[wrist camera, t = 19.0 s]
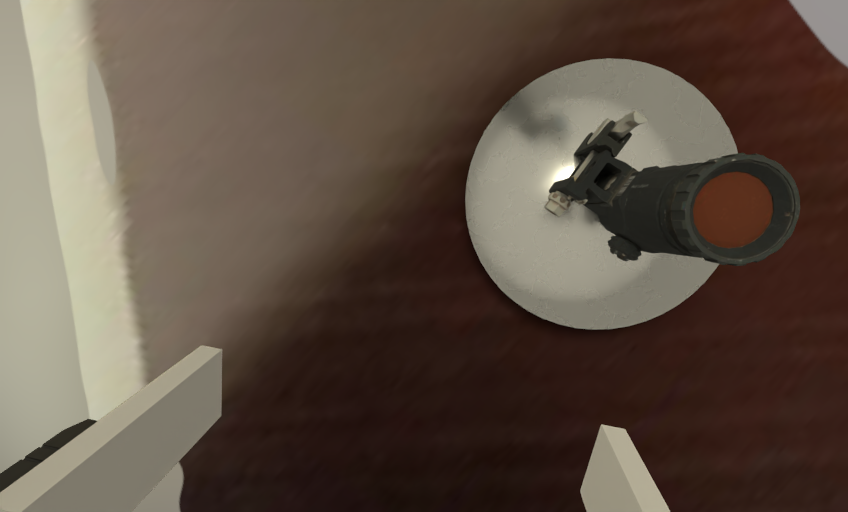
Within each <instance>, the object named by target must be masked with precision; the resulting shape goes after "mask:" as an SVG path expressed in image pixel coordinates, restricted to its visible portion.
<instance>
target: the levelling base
mask: <svg viewBox="0 0 848 512" xmlns="http://www.w3.org/2000/svg"><path fill="white" fill-rule="evenodd" d="M635 110H636V111H637V112H639V113H640V114H642V115H643V116H645V117H646V118H648V120H647V122H646V123H643V124H640V125H638V126H637V127H635V128H634V129H632V130H631V131H630V133H632V136H631V137H630V139H629V140H628V142H627V143H626V144H625V146H624V147H623V148H622V150H621V151H620V152H619V154H618V155H617V156H616V157H614V158H616V159H618V160H621V161H623V162H625V163H627V164H628V165H630V166H631V167H632V168H634V169H636V170H637V171H642V170H643V168H647V167H653V166H658V167H660V168H661V167H667V166H673V165H676V166H680V165H687V164H694V163H703V162H706V161H708V160H711V159H716V158H721V157H722V156H726V155H731V154H737V153H738V152H737V148H736V145H735V142H734V140H733V138H732V135H731V133H730V130H729V128H728V127H727V125H726V123H725V122H724V120H723V118H722V117H721V115H720V113H719V112H718V111H717V110H716V108H715V107H714V106H713V105H712V104H711V102H710V101H709V100H708V99H707V98H706V97H705V96H704V95H703V94H702V93H701V92H699V91H698V90H697V89H696V88H695V87H694V86H692V85H691V84H689V83H688V82H686V81H685V80H684V79H682V78H681V77H679V76H677V75H675V74H673V73H671V72H669V71H667V70H665V69H663V68H660V67H657V66H654V65H651V64H648V63H644V62H639V61H633V60H628V59H609V58H608V59H596V60H587V61H583V62H578V63H574V64H570V65H567V66H564V67H562V68H559V69H556V70H553V71H551V72H549V73H547V74H545V75H544V76H542V77H540V78H538V79H536V80H534V81H533V82H531V83H530V84H529V85H527V86H526V87H524V88H523V89H521V90H520V91H519V92H518V93H517V94H516V95H514V96H513V97H512V98H511V99H510V100H509V101H508V102H507V103H506V104H505V105H504V106H503V107H502V108H501V109H500V111H499V112H498V113H497V114H496V115H495V116H494V118H493V119H492V121H491V122H490V124H489V125H488V127H487V128H486V130H485V131H484V133H483V135H482V137H481V139H480V141H479V143H478V145H477V147H476V150H475V153H474V156H473V159H472V161H471V164H470V168H469V173H468V177H467V182H466V194H465V208H466V219H467V225H468V230H469V234H470V237H471V240H472V243H473V246H474V249H475V251H476V253H477V255H478V257H479V259H480V261H481V263H482V265H483V266H484V268H485V270H486V271H487V273H488V274H489V276H490V277H491V279H492V280H493V281H494V282H495V283H496V284H497V286H498V287H499V288H500V289H501V290H502V291H503V292H504V293H505V294H506V295H507V296H508V297H510V298H511V299H512V300H513V301H514V302H516V303H517V304H518V305H520V306H521V307H523V308H524V309H526V310H527V311H529V312H531V313H533V314H535V315H537V316H539V317H541V318H543V319H545V320H548V321H551V322H554V323H557V324H560V325H564V326H569V327H573V328H581V329H591V330H598V329H614V328H621V327H627V326H631V325H634V324H638V323H641V322H645V321H647V320H650V319H652V318H655V317H657V316H659V315H662V314H663V313H665V312H667V311H669V310H670V309H672V308H674V307H676V306H677V305H679V304H680V303H681V302H683V301H684V300H685V299H687V298H688V297H689V296H691V295H692V294H693V293H694V292H695V291H696V290H697V289H698V288H699V287H700V286H701V285H702V284H703V283H705V281H706V280H707V279H708V278H709V277H710V275H711V274H712V273H713V272H714V270H715V269H716V268H717V266H718V265H719V264H717V263H713V262H709V261H705V260H704V258H698V257H690V256H683V255H675V254H667V253H648V252H643V251H641V254H642V255H641V256H639V257H638V260H636V261H632V260H629V261H623V260H621V259H619V258H618V257H617V255H616V254H612V253H611V252H610V247H609V245H608V240H611V237H612V236H616V235H614V234H613V233H611V232H609V231H608V230H606V229H605V228H604V227H603V225H602V224H601V222H600V220H599V218H598V215H597V214H595V213H594V212H593V211H591V210H590V209H588V208H587V207H585V206H584V205H583V204H582V205H578V204H577V203H575V201H570V203H571V206H570V208H569V209H568V210H564V212H563V213H562V214H561V216H560V217H557V216H555V215H553V214H552V213H550V212H549V211H547V210H546V209H545V208H544V206H545V204H546V203H547V202H548V200H549V199H548V196H549V195H550V193H549V189H550V188H551V186H552V185H553V184H554V182H556V181H560V180H563V179H566V178H569V177H570V175H571V174H572V173H573V171H574V170H575V168H576V167H577V166H578V164H579V163H580V162H581V161H582V160H583V159H585V157H583V156H582V155H579V156H575V155H574V153H575V152H576V150H577V149H578V148H579V146H580V145H581V143H582V142H583V141H584V139H585V138H586V137H587V135H588V134H589V133H591V132H592V133H594V132H595V131H596V129H597V128H598V127H599V126H600V125H601V123H602V122H603V121H604V120H605V119H607V118H608V119H610V120H611V121H612V120H613V121H614V122H616V121H618V120H620V119H622V118H623V117H624V116H625V115H626V114H627V115H628V114H629V113H631V112H633V111H635Z"/></svg>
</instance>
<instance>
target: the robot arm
mask: <svg viewBox="0 0 848 512" xmlns="http://www.w3.org/2000/svg"><path fill="white" fill-rule="evenodd" d="M221 396H222V349H218V348H213V347H208V346H203V345H201V346H200V347H198V348H197V349H196V350H194V351H193V352H192V353H190V354H189V355H188V356H186V357H185V358H183V359H182V360H181V361H179V362H178V363H177V364H175V365H174V366H173V367H171V368H170V369H168V370H167V371H166V372H164V373H163V374H162V375H160V376H159V377H157V378H156V379H155V380H153V381H152V382H151V383H149V384H148V385H147V386H145V387H144V388H142V389H141V390H140V391H138V392H137V393H136V394H134V395H133V396H132V397H130V398H129V399H127V400H126V401H125V402H123V403H122V404H121V405H119V406H118V407H116V408H115V409H114V410H112V411H111V412H110V413H108V414H107V415H106V416H104V417H103V418H101V419H100V420H99V421H95V420H90V419H87V420H85V421H83V422H81V423H79V424H76V425H74V426H72V427H69V428H67V429H65V430H63V431H61V432H60V433H59V434H57V435H56V436H54V437H53V438H51V439H50V440H48V441H47V442H46V443H44V444H43V446H42V447H41V448H40V447H39V448H37V449H35V450H34V451H33V452H31V453H30V454H28V455H27V456H26V457H25V459H24V460H20V461H18V462H17V463H15V464H14V465H12V466H11V467H9V468H8V469H7V470H5V471H4V472H2V473H1V474H0V512H132V511H133V510H134V509H135V508H136V507H137V505H138V504H139V503H140V502H141V501H142V500H143V499H144V498H145V497H146V496H147V495H148V494H149V493H150V492H151V490H152V489H153V488H154V487H155V486H156V485H157V484H158V483H159V482H160V481H161V480H162V479H163V477H165V475H166V474H167V473H168V472H169V471H170V470H171V469H172V468H173V467H174V466H175V465H176V464H177V463H178V462H179V460H180V459H181V458H182V457H183V456H184V455H185V454H186V453H187V452H188V451H189V450H190V449H191V448H192V447H193V445H194V444H195V443H196V442H197V441H198V440H199V439H200V438H201V437H202V436H203V435H204V434H205V433H206V432H207V430H208V429H209V428H210V427H211V426H212V425H213V424H214V423H215V422H216V421H217V420H218V419H219V418H220V417H221ZM580 492H581V496H582V499H583V502H584V505H585V508H586V511H587V512H670V510H669V508H668V507H667V505H666V503H665V501H664V499H663V498H662V496H661V494H660V492H659V490H658V488H657V487H656V485H655V483H654V481H653V479H652V477H651V476H650V474H649V472H648V470H647V468H646V467H645V465H644V463H643V461H642V459H641V457H640V456H639V454H638V452H637V450H636V448H635V447H634V445H633V443H632V441H631V439H630V437H629V436H628V434H627V432H626V430H625V429H622V428H617V427H612V426H607V425H602V424H601V427H600V430H599V433H598V436H597V439H596V443H595V446H594V449H593V452H592V455H591V458H590V461H589V465H588V468H587V471H586V474H585V477H584V480H583V483H582V487H581V490H580Z"/></svg>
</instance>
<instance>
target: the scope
mask: <svg viewBox="0 0 848 512" xmlns="http://www.w3.org/2000/svg"><path fill="white" fill-rule="evenodd" d="M647 120H648V118H646V117H645V116H643V115H642V114H640V113H639V112H637V111H636V110H635V111H633V112H631V113H629V114H628V115H627V114H626V115H625V116H624V117H623V118H622V119H620V120H618V121H616V122H614V121H613V120H612V121H611V120H610V119H608V118H607V119H605V120H604V121H603V122H602V123H601V125H600V126H599V127H598V128H597V129H596V131H595V132H594V133H592V132H591V133H589V134H588V135H587V137H586V138H585V139H584V141H583V142H582V143H581V145H580V146H579V148H578V149H577V150H576V152H575V153H574V155H575V156H579V155H582V156H583V157H585V159H583V160H582V161H581V162H580V163H579V164H578V166H577V167H576V168H575V170H574V171H573V173H572V174H571V175H570V177H569V178H566V179H563V180H560V181H556V182H554V184H553V185H552V186H551V188H550V189H549V193H550V195H549V196H548V199H549V200H548V202H547V203H546V204H545V206H544V208H545V209H546V210H547V211H549V212H550V213H552V214H553V215H555V216H557V217H560V216H561V214H562V213H563V212H564V210H568V209H569V208H570V206H571V203H570V201H575V203H577V204H578V205H582V204H583V205H584V206H585V207H587V208H588V209H590V210H591V211H593V212H594V213H595V214H597V215H598V218H599V220H600V222H601V224H602V225H603V227H604V228H605V229H606V230H608V231H609V232H611V233H613V234H614V235H616V236H612V237H611V240H608V245H609V247H610V252H611V253H612V254H616V255H617V257H618V258H619V259H621V260H623V261H629V260H632V261H636V260H638V257H639V256H641V255H642V254H641V251H643V252H648V253H667V254H675V255H683V256H690V257H698V258H704V260H705V261H709V262H713V263H717V264H722V265H726V264H729V265H734V266H741V265H746V264H747V263H750V262H759V261H761V260H764V259H765V258H766V257H767V256H769V255H770V254H772V253H773V252H774V253H775V252H776V251H778V250H779V249H780V248H781V247H782V246H783V244H784V243H785V241H786V240H787V239H788V238H790V236H791V234H792V233H793V231H794V228H795V225H796V223H797V220H798V218H799V212H800V197H799V192H798V189H797V186H796V184H795V181H794V180H793V178H792V177H791V175H790V173H788V172H787V171H786V170H785V169H784V168H783V167H782V165H780V164H779V163H777V162H776V161H773V160H770V159H768V158H766V157H765V156H763V155H759V154H751V155H746V154H744V153H737V154H731V155H726V156H722V157H721V158H716V159H711V160H708V161H706V162H703V163H694V164H687V165H680V166H676V165H673V166H667V167H661V168H660V167H658V166H653V167H647V168H643V170H642V171H637V170H636V169H634V168H632V167H631V166H630V165H628V164H627V163H625V162H623V161H621V160H618V159H616V158H614V157H616V156H617V155H618V154H619V152H620V151H621V150H622V148H623V147H624V146H625V144H626V143H627V142H628V140H629V139H630V137H631V136H632V133H630V131H631V130H632V129H634V128H635V127H637V126H638V125H640V124H643V123H646V122H647Z"/></svg>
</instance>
